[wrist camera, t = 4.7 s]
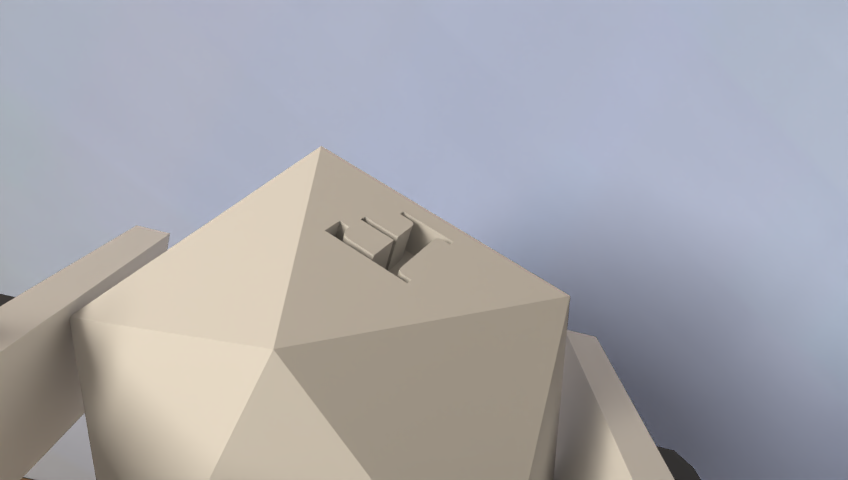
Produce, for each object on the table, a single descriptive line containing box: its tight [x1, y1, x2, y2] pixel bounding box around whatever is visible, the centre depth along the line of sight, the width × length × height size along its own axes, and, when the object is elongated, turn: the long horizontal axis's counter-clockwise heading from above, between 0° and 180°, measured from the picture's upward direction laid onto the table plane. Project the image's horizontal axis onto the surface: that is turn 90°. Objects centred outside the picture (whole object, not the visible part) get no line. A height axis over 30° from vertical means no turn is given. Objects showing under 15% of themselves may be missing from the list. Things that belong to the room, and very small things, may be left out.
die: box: [69, 146, 570, 480], centre depth 13 cm, size 8×9×10 cm
